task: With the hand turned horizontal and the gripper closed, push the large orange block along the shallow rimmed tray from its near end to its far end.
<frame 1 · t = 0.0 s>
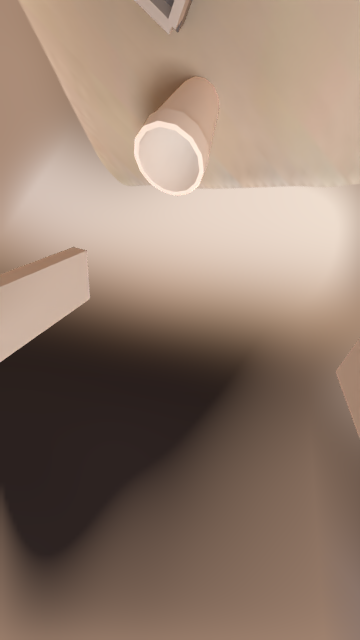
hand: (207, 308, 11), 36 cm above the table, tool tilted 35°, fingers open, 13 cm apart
foam cup: (198, 103, 35), on the table
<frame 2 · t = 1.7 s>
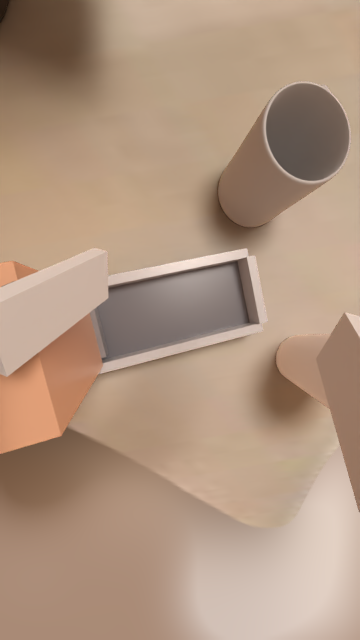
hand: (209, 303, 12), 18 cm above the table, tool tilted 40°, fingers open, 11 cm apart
foam cup: (295, 357, 33), on the table
large orange block: (45, 341, 18), point 10 cm above the table, slide at -8.5 cm, touching shallow rimmed tray, gripper
mug: (254, 183, 31), on the table
shallow rimmed tray: (149, 313, 29), on the table
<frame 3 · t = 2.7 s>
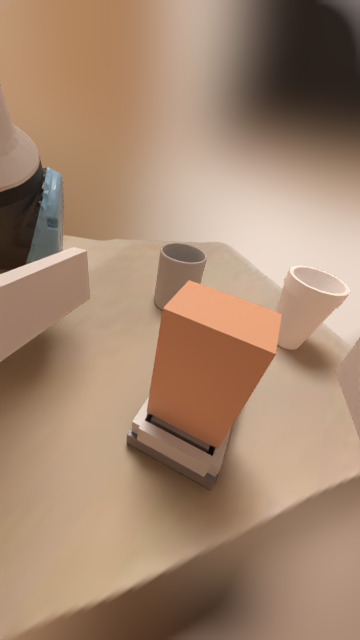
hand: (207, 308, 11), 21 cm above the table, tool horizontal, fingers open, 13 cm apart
foam cup: (283, 338, 47), on the table
large orange block: (201, 376, 23), point 10 cm above the table, slide at -8.0 cm
mug: (171, 298, 51), on the table
shallow rimmed tray: (204, 381, 35), on the table
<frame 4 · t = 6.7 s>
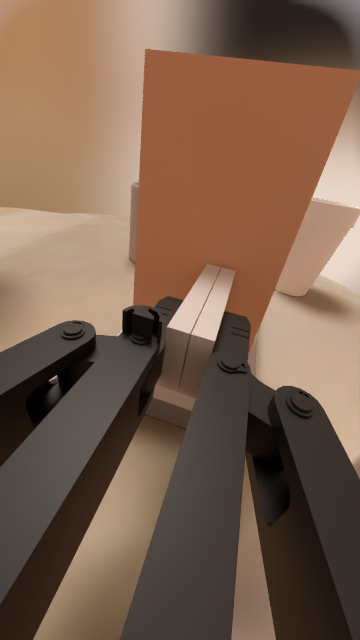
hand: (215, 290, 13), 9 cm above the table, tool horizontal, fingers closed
foam cup: (285, 288, 40), on the table
large orange block: (211, 251, 15), point 10 cm above the table, slide at -6.9 cm
mug: (149, 256, 43), on the table
shallow rimmed tray: (202, 325, 26), on the table
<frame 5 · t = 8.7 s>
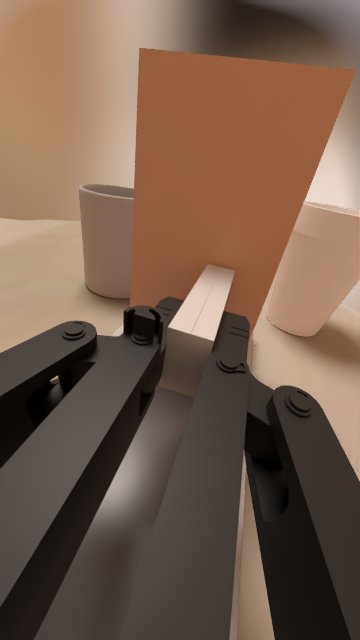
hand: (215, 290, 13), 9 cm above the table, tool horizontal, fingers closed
foam cup: (290, 322, 30), on the table
large orange block: (207, 250, 15), point 10 cm above the table, slide at 4.6 cm, touching gripper
mug: (115, 279, 33), on the table
shallow rimmed tray: (165, 408, 17), on the table
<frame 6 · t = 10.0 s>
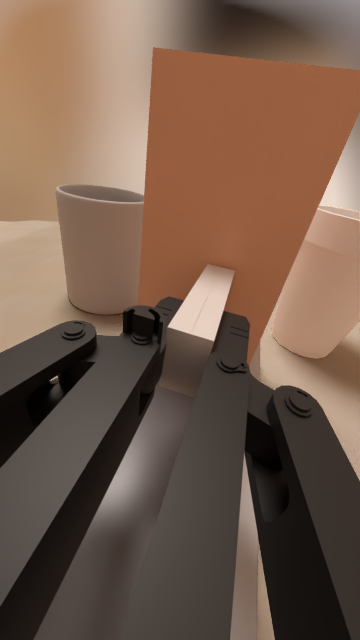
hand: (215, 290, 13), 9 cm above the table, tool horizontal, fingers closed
foam cup: (298, 340, 27), on the table
large orange block: (216, 252, 15), point 10 cm above the table, slide at 8.5 cm, touching shallow rimmed tray, gripper
mug: (103, 290, 30), on the table
shallow rimmed tray: (151, 466, 14), on the table
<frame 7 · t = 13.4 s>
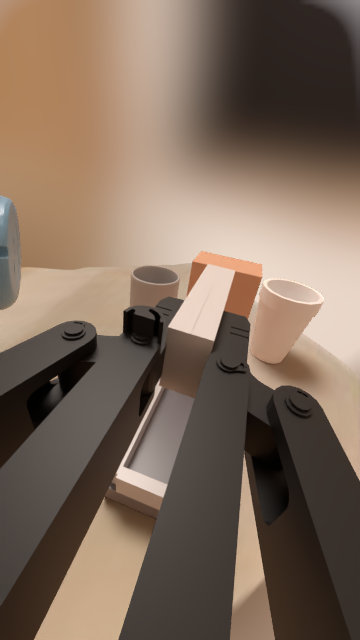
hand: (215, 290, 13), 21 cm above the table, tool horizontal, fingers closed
foam cup: (266, 353, 45), on the table
large orange block: (215, 317, 33), point 10 cm above the table, slide at 8.0 cm
mug: (147, 322, 49), on the table
shallow rimmed tray: (189, 409, 32), on the table
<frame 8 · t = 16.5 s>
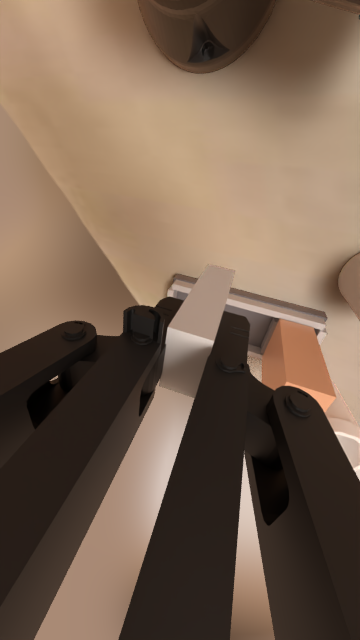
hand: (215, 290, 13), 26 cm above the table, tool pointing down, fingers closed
foam cup: (316, 387, 46), on the table
large orange block: (289, 367, 33), point 10 cm above the table, slide at 8.0 cm
shallow rimmed tray: (238, 316, 43), on the table
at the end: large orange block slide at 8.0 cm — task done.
